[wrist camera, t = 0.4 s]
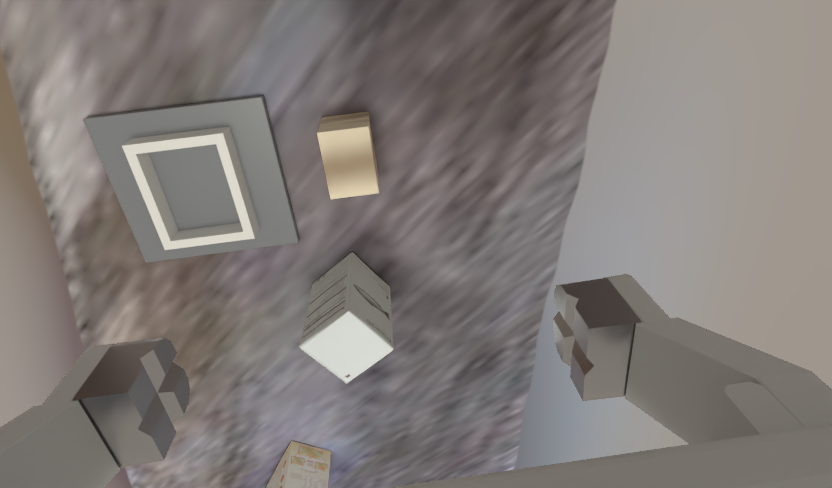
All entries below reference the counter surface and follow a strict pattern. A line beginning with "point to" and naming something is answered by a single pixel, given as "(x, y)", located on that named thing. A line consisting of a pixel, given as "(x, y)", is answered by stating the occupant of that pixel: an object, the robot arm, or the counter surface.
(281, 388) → the counter surface
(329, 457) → the coffeecake box
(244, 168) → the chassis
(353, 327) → the supplement box
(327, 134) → the tan cardboard carton
